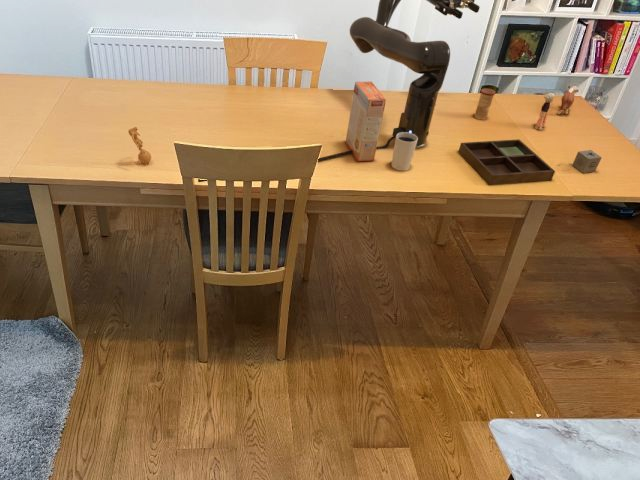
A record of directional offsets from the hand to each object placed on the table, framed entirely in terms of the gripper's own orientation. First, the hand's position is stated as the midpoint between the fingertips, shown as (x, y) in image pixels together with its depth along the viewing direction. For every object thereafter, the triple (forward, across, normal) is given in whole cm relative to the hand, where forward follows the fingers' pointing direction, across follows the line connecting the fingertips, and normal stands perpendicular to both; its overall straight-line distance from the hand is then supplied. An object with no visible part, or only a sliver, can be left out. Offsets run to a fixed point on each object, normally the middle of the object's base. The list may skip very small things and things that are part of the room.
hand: (469, 13), depth 205 cm
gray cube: (+63, +3, -23) cm, 67 cm away
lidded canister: (+21, +2, -30) cm, 36 cm away
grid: (+48, +25, -22) cm, 59 cm away
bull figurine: (+33, -32, -31) cm, 55 cm away
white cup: (+32, +54, -22) cm, 67 cm away
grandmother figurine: (+37, -10, -28) cm, 48 cm away
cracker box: (+18, +60, -24) cm, 67 cm away
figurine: (-11, +124, -22) cm, 127 cm away
